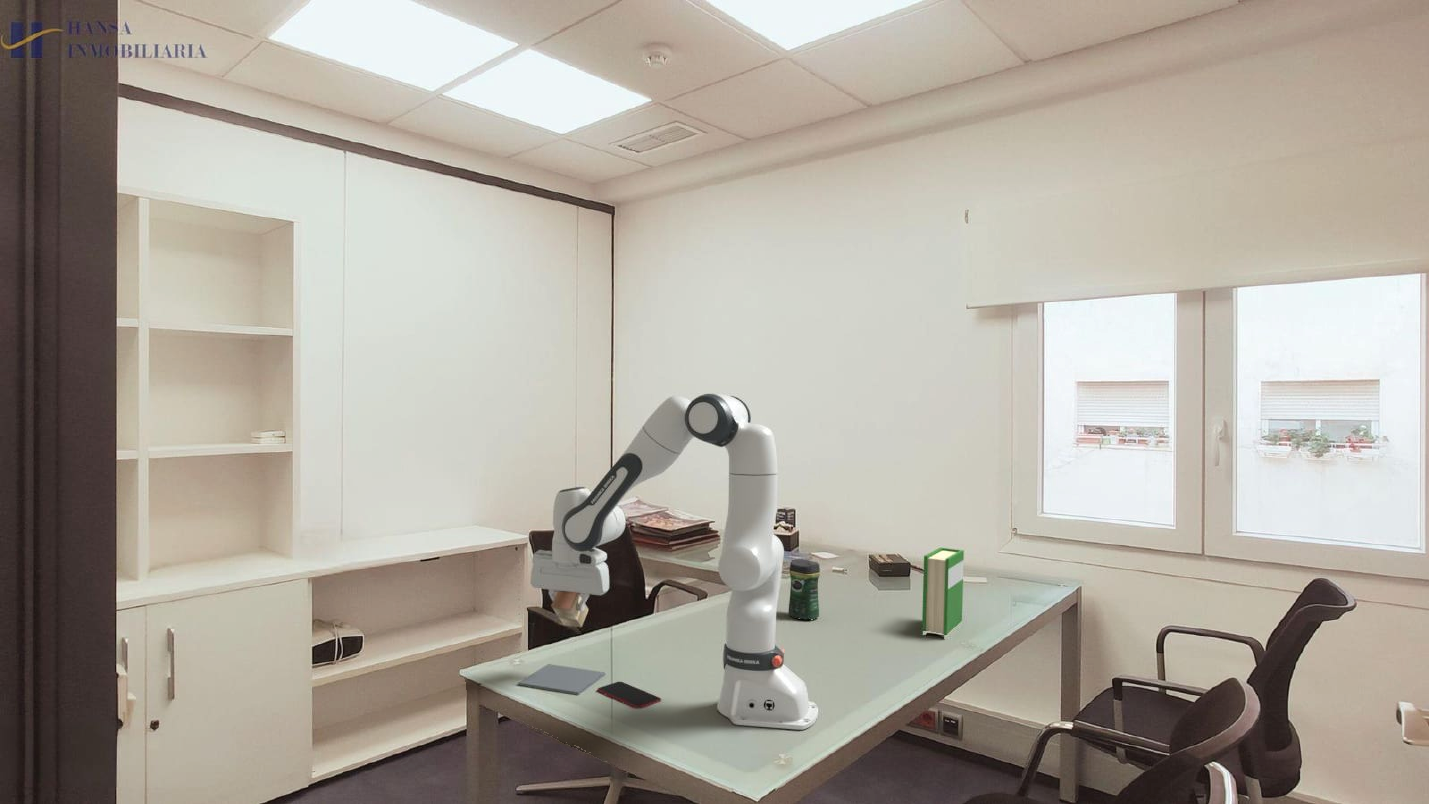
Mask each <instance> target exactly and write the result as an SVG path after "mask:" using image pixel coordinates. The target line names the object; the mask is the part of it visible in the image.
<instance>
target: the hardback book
mask: <svg viewBox="0 0 1429 804" xmlns="http://www.w3.org/2000/svg"><path fill="white" fill-rule="evenodd" d="M964 554H965V551H964V550H963V549H955V548H948V547H946V548H945V547H938V548H936V549H934V550H933V551H931V552H929V553H927V554H925V555H924V556H923V581H922V582H923V583H922V586H923V587H922V615H921V616H922V619H921V623H922V624H921V632H922V631H931V632H936V633H942V634H944V635H947V634H948V633H949V632H950V631H951V630H952V629H953V628H954V627H956V626H957V625H958V624H959V623H960V622H961V621H962V622H963V595H964V591H963V590H964V557H965V556H964Z"/></svg>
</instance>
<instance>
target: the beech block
mask: <svg viewBox="0 0 1429 804" xmlns="http://www.w3.org/2000/svg"><path fill="white" fill-rule="evenodd" d="M581 599H582V597H580V593H576V592H567V591H559V590H558V591H557V593H556V596H555V598H554V600H553V601H552V603H551V605H550V606H551V608H552V610H553V611H554V613H555V614H556V616H557V617H558V619H559V621H561V623H562V624H563V626H567V627H573V628H582V627H583V625H584V622H585V620H586V617H587V615H588V612H589V607H588V606H587V604H586V603H585V609H584V610H583V611H576V608H577V607H576V604H577V603H579V602H580V601H581Z"/></svg>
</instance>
